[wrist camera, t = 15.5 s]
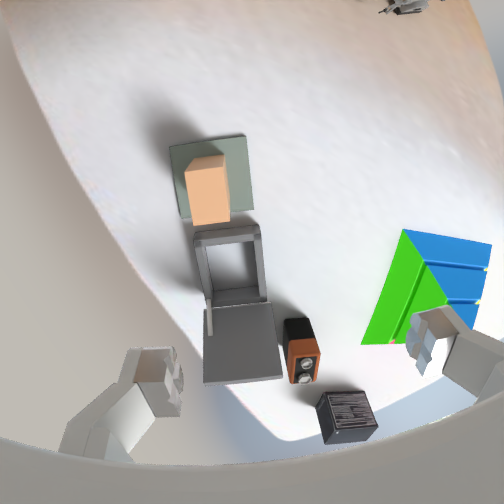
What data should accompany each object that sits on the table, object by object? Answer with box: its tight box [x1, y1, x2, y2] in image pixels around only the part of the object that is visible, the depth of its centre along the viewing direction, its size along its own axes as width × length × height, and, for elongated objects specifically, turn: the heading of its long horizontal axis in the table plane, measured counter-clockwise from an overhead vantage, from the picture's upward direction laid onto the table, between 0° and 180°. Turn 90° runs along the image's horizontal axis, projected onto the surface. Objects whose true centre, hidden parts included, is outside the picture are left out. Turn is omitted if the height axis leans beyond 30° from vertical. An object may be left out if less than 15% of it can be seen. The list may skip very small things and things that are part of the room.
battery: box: [283, 318, 321, 385], centre depth 49 cm, size 4×7×10 cm, turn 1°
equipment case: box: [193, 225, 283, 386], centre depth 41 cm, size 15×10×15 cm, turn 6°
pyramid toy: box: [360, 229, 492, 345], centre depth 47 cm, size 25×25×14 cm
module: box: [184, 154, 230, 226], centre depth 37 cm, size 6×4×9 cm, turn 6°
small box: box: [315, 391, 378, 445], centre depth 59 cm, size 11×6×10 cm, turn 79°
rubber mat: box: [169, 136, 254, 219], centre depth 41 cm, size 10×10×1 cm
